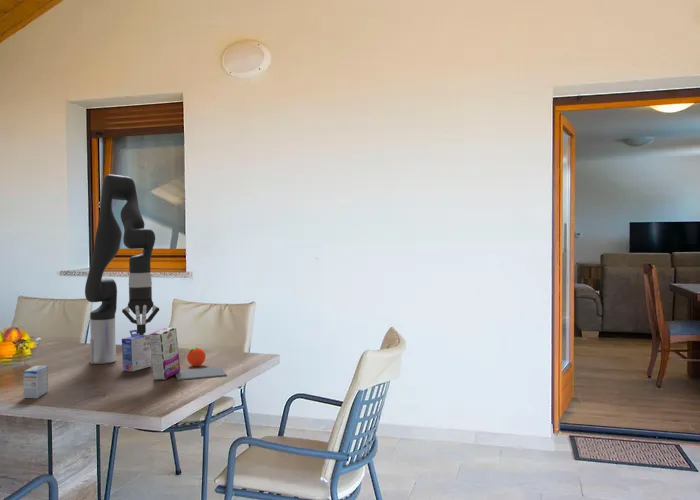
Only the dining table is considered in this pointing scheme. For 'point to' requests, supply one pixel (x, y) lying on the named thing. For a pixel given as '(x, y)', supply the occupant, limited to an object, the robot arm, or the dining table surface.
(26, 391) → the medicine box
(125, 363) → the ink cartridge box
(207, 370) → the mat
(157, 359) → the candy bar box
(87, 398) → the dining table surface
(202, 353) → the clementine
